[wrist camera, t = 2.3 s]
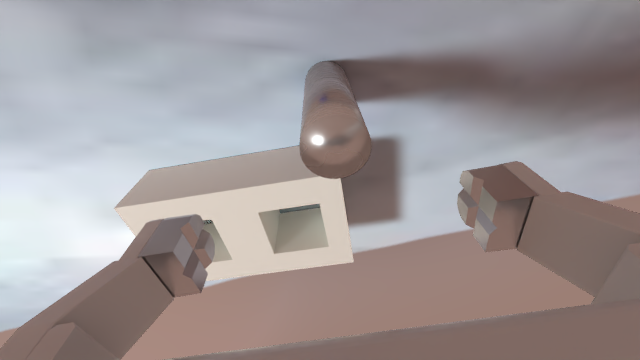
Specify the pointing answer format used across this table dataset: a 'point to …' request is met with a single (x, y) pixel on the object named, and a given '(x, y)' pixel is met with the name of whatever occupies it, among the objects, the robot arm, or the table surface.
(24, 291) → the table surface
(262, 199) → the hole block
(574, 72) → the table surface
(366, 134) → the peg
